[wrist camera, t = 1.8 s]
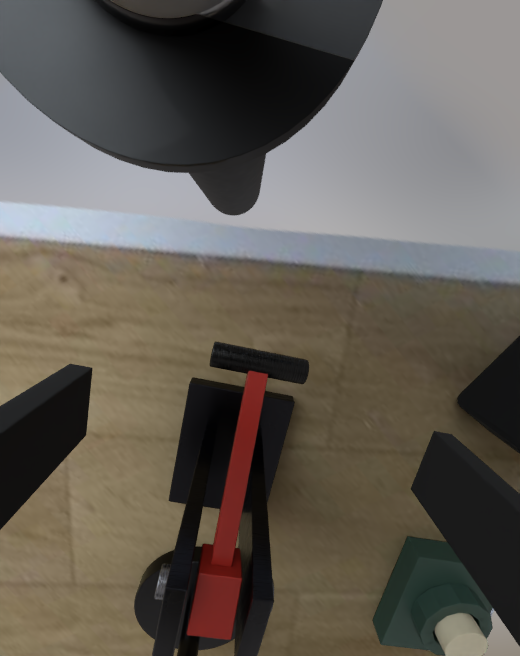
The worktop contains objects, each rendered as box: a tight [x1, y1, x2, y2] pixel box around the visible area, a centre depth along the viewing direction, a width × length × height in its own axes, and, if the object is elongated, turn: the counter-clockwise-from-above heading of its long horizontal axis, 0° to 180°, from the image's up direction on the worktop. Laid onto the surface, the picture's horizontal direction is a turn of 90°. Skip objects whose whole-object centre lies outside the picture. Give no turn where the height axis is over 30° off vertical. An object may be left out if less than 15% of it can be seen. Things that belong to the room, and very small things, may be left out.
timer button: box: [434, 613, 488, 656], centre depth 28 cm, size 4×4×2 cm
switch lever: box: [187, 342, 309, 640], centre depth 16 cm, size 14×6×2 cm, turn 168°
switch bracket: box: [152, 378, 295, 656], centre depth 21 cm, size 12×9×14 cm
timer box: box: [373, 537, 493, 656], centre depth 30 cm, size 12×10×4 cm
